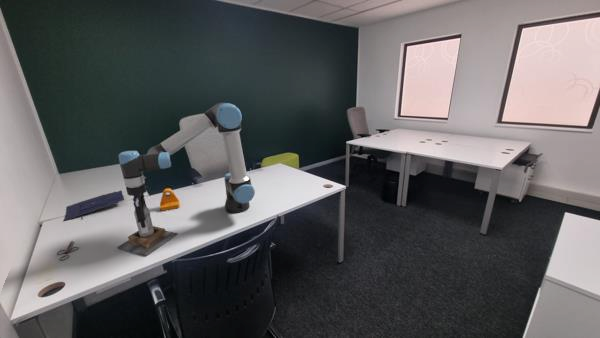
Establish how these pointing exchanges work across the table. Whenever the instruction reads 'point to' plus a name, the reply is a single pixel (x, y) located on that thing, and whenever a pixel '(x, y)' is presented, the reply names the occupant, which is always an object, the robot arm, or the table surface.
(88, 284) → the table surface
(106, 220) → the table surface
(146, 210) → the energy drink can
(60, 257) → the grey scissors
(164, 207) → the bracket
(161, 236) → the can holder
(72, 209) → the navy blue flat panel
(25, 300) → the table surface
